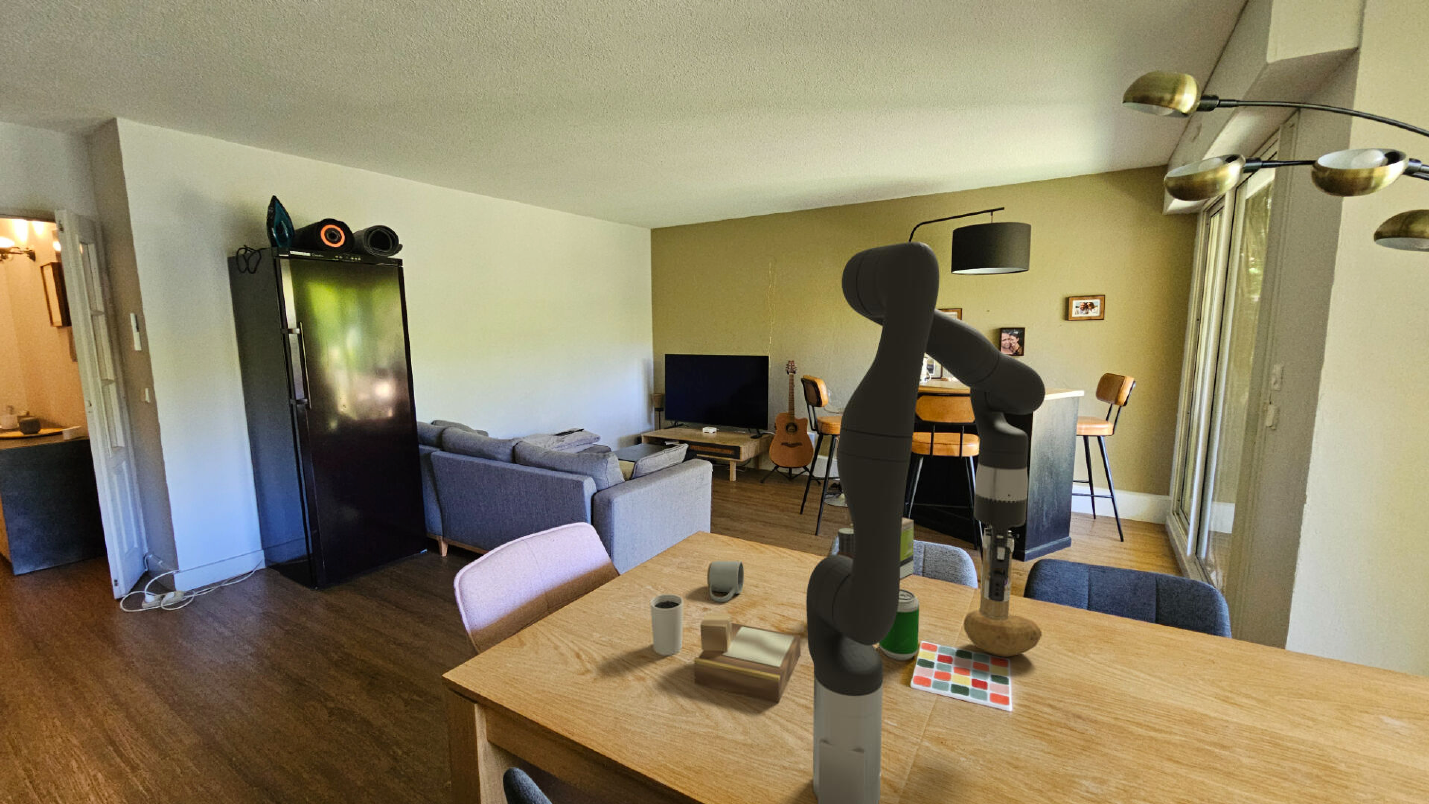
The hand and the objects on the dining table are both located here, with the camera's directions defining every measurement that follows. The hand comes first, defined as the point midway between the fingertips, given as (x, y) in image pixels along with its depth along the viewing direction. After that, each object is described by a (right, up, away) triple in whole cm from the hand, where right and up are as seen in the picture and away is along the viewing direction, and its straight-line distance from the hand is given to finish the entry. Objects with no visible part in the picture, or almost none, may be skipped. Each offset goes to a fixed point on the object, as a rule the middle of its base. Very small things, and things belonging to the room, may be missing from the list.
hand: (994, 593), depth 94 cm
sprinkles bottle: (0, -4, 0) cm, 4 cm away
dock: (-39, -20, +16) cm, 47 cm away
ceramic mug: (-43, -16, +48) cm, 66 cm away
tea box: (-2, -14, +56) cm, 58 cm away
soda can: (-9, -19, +21) cm, 30 cm away
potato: (+11, -19, +20) cm, 30 cm away
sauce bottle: (-16, -17, +35) cm, 43 cm away
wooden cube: (-46, -13, +14) cm, 50 cm away
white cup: (-56, -19, +23) cm, 63 cm away
